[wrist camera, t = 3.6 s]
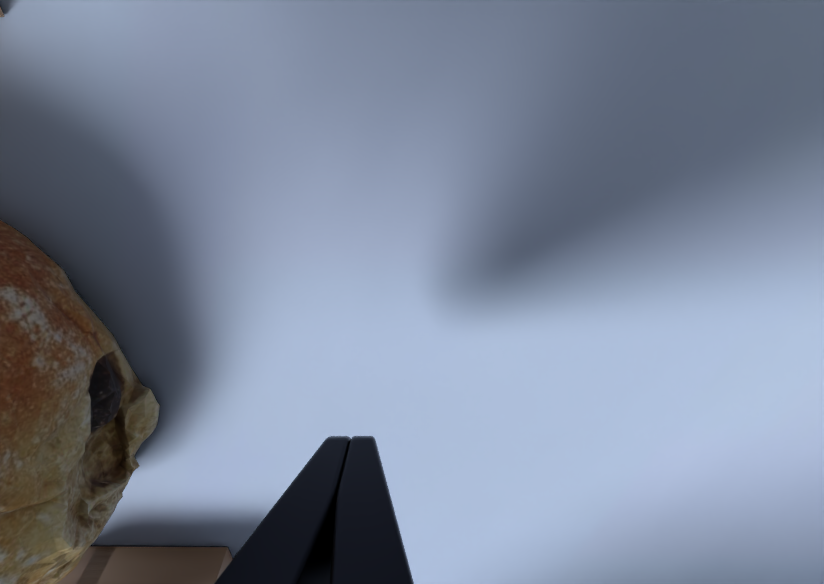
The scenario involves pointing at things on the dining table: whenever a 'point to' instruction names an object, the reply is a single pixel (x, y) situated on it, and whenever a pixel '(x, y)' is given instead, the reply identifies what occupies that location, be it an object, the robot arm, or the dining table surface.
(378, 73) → the dining table surface
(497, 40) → the dining table surface
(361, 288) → the dining table surface
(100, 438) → the bread roll
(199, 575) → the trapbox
